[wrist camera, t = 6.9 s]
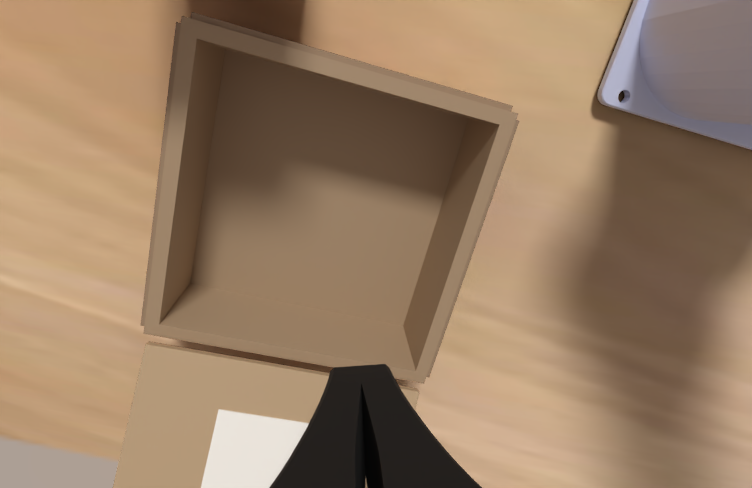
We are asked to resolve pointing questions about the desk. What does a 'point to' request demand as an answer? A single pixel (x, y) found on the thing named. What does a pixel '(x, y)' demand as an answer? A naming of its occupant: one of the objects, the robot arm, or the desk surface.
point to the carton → (314, 202)
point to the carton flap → (216, 419)
